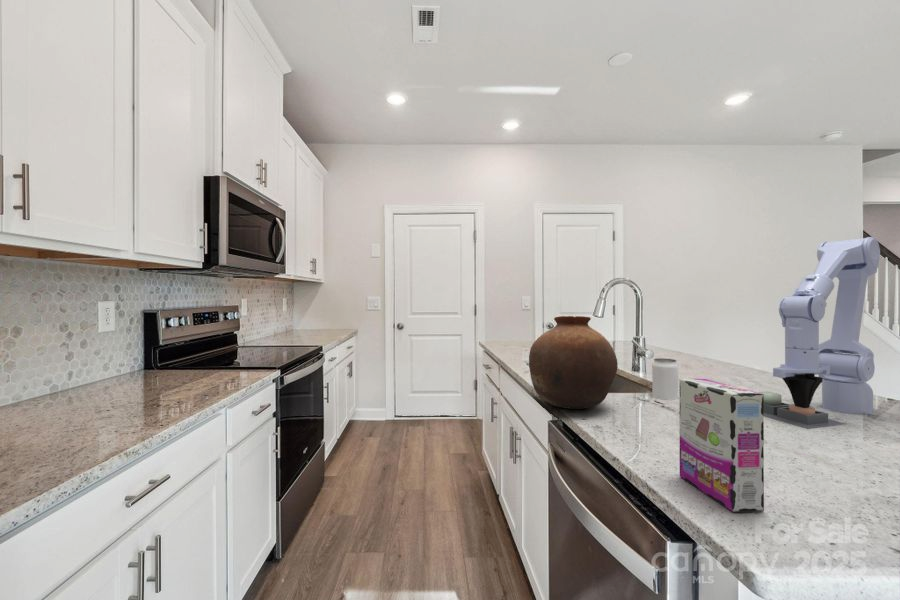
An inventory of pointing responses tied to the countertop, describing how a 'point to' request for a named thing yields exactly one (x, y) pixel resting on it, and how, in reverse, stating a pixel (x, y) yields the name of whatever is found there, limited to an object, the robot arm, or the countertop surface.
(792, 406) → the terracotta button
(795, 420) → the panel
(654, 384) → the can
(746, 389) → the cream button
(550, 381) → the pottery
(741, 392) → the candy bar box
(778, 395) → the sage button
